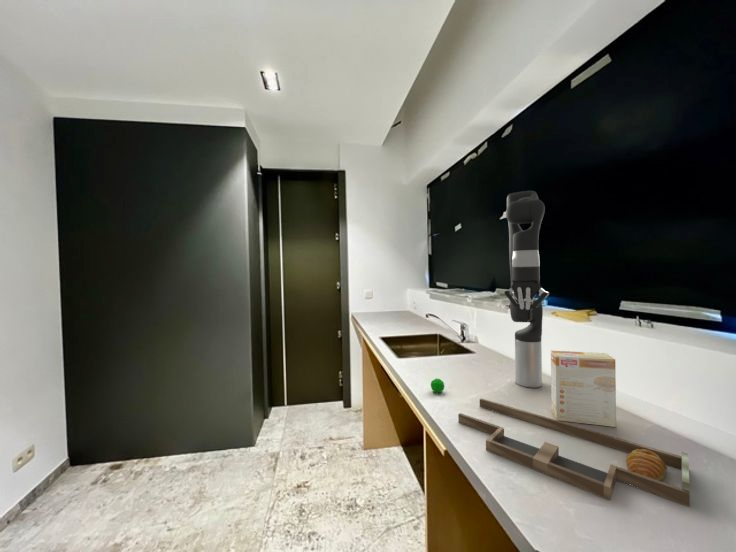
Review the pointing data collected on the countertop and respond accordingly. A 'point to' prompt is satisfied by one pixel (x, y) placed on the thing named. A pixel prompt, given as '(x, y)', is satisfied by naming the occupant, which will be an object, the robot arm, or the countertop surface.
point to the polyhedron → (437, 385)
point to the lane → (546, 465)
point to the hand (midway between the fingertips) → (526, 321)
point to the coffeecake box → (583, 387)
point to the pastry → (646, 464)
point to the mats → (557, 460)
